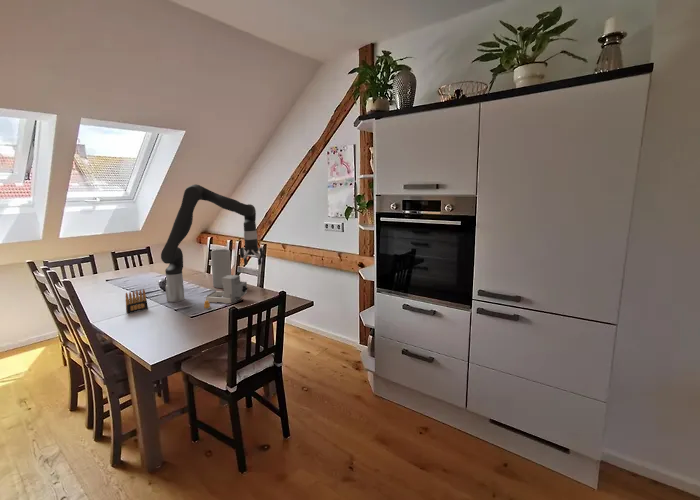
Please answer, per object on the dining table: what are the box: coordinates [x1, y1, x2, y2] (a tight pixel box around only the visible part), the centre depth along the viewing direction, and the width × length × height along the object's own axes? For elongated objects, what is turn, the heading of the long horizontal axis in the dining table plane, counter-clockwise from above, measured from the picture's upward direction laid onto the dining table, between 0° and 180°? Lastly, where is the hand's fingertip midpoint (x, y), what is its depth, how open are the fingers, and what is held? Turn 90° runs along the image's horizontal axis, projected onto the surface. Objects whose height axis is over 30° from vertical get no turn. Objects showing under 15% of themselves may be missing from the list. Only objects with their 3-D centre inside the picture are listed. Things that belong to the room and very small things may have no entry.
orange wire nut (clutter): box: [203, 300, 211, 309], centre depth 210 cm, size 3×3×4 cm
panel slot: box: [205, 290, 232, 304], centre depth 224 cm, size 16×12×4 cm
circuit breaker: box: [222, 274, 249, 303], centre depth 222 cm, size 8×14×15 cm, turn 78°
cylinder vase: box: [210, 248, 232, 289], centre depth 251 cm, size 12×12×25 cm
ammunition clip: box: [125, 288, 149, 315], centre depth 203 cm, size 11×2×12 cm, turn 138°
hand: (252, 264), depth 216 cm, fingers open, 8 cm apart
